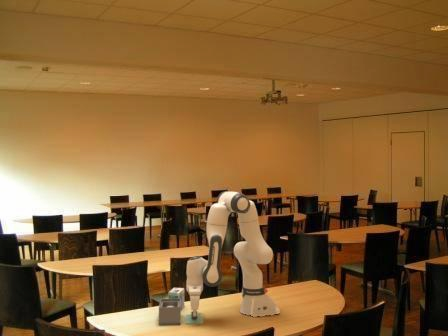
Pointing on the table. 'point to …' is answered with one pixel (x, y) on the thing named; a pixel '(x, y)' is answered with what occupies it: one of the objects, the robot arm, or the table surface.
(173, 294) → the light bulb box
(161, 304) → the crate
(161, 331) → the table surface
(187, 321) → the lid
